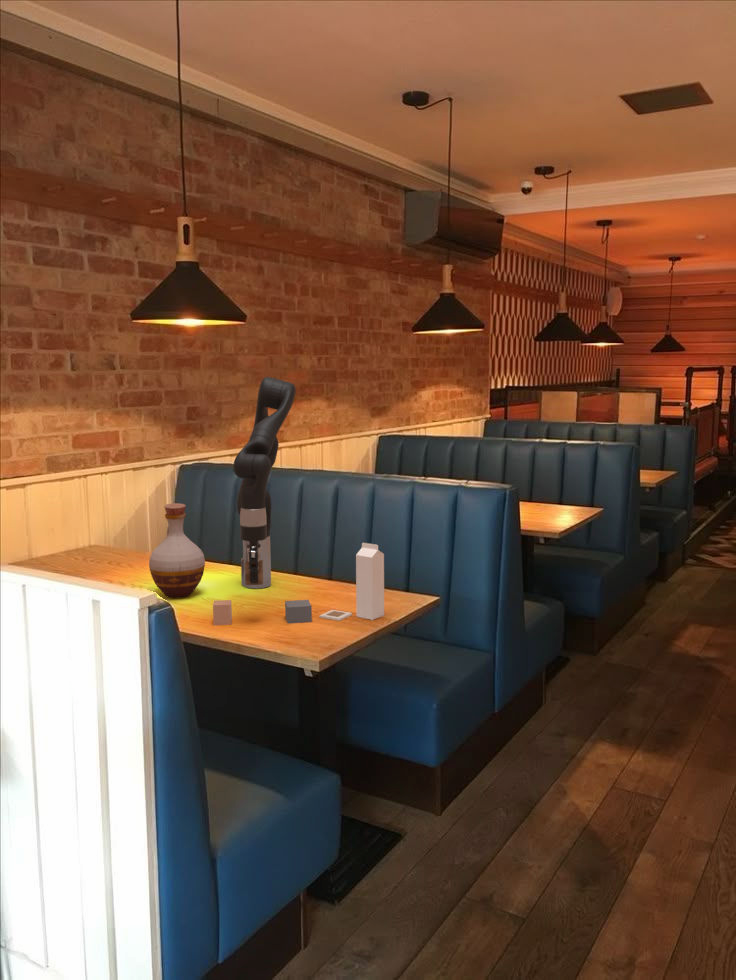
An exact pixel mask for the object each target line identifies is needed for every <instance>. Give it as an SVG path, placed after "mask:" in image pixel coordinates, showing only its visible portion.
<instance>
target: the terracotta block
mask: <svg viewBox="0 0 736 980" xmlns="http://www.w3.org/2000/svg"><path fill="white" fill-rule="evenodd" d="M232 607H233V606H232V599H227V600H225V599H223V600H221V599H220V600H213V604H212V612H213V613H212V615H213V618H212V619H213V626H227V625H232V620H233V616H232V611H233V610H232Z"/></svg>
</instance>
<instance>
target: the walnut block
mask: <svg viewBox="0 0 736 980" xmlns="http://www.w3.org/2000/svg"><path fill="white" fill-rule="evenodd" d="M255 565H256V563H251V566H255ZM258 567H259V569H258V583H251V582H250V570H249V562H248V561H246V562H245V585H263V560H260V562H258Z"/></svg>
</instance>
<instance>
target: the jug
mask: <svg viewBox="0 0 736 980" xmlns="http://www.w3.org/2000/svg"><path fill="white" fill-rule="evenodd" d="M163 507H164V511H165V514H164V517H165V519H166V521H167V529H166V536H165V538H164V539H163V541H161V543H159V545H157V546H156V547H155V549H154V550H153V551H152V552H151V554H150V557H149V561H148V565H149V572H150V575H151V579H152V580H153V582H154V584H155V585H156V587H157V588H158V589H159V590H160V592H162V594H163V595H164V596H165V597H166V598H170V599H182V598H188V597H190V596H191V595H192V594H193V592H194V591H195V590H196V589H197V587H198V586H199V584H200V582H201V581H202V578H203V575H204V571H205V566H206V559H205V554H204V552H203V551H202V549H201V548H199V546H198V545H197V544H196V543H194V542H193V541H191V539H189V538H188V536H186V535H185V533H184V522H185V521H184V520H185V518H186V515H187V513H185V510H186V507H187V506H186V504H184V503H179V502H174V503H167V504H164V506H163Z"/></svg>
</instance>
